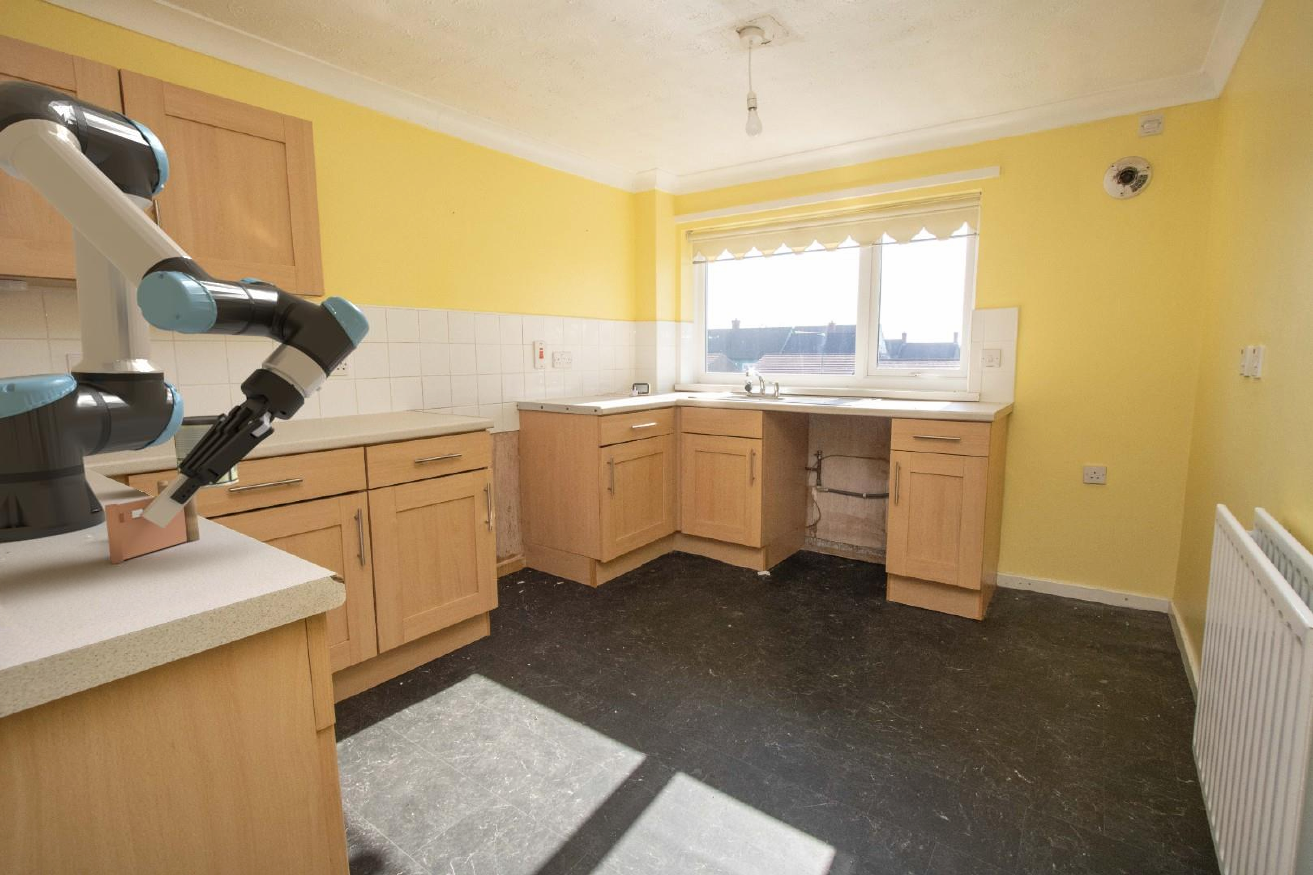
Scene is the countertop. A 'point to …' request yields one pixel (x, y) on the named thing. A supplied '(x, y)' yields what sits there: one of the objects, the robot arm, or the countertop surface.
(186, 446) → the coffee can
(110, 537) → the fence gate
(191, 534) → the fence anchor
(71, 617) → the countertop surface
